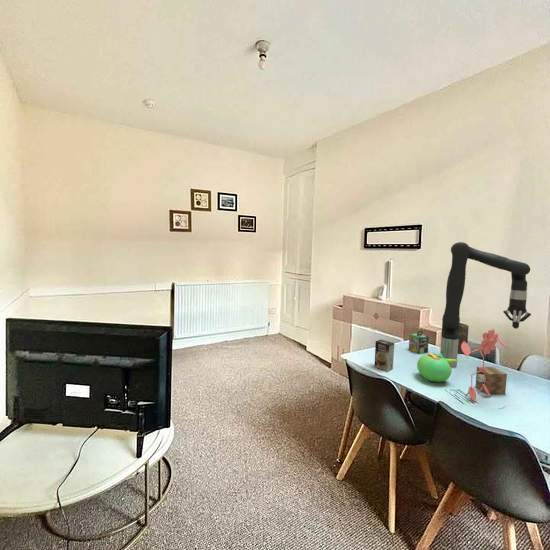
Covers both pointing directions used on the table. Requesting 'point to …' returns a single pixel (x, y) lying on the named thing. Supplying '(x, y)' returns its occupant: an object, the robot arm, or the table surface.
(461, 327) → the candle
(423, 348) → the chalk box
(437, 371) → the green rounded lump
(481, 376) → the plunger peg
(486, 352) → the pink flower sprig
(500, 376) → the bushing block
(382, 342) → the coffee box
